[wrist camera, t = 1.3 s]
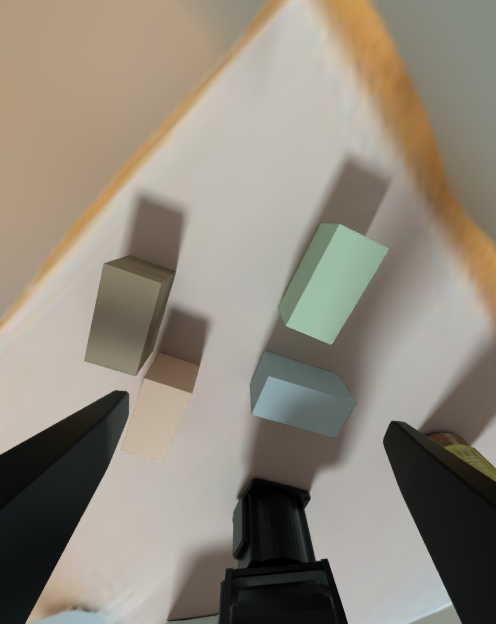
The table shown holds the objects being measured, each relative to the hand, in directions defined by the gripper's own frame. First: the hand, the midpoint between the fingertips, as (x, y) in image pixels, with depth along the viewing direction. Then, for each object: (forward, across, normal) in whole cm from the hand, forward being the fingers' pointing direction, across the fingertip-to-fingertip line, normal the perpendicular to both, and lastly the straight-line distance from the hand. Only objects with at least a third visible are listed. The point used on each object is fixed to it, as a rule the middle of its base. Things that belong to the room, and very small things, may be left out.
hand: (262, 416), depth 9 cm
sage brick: (+13, -5, -3) cm, 14 cm away
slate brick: (+13, -5, +6) cm, 15 cm away
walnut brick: (+13, +8, +1) cm, 15 cm away
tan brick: (+13, +6, +9) cm, 17 cm away
